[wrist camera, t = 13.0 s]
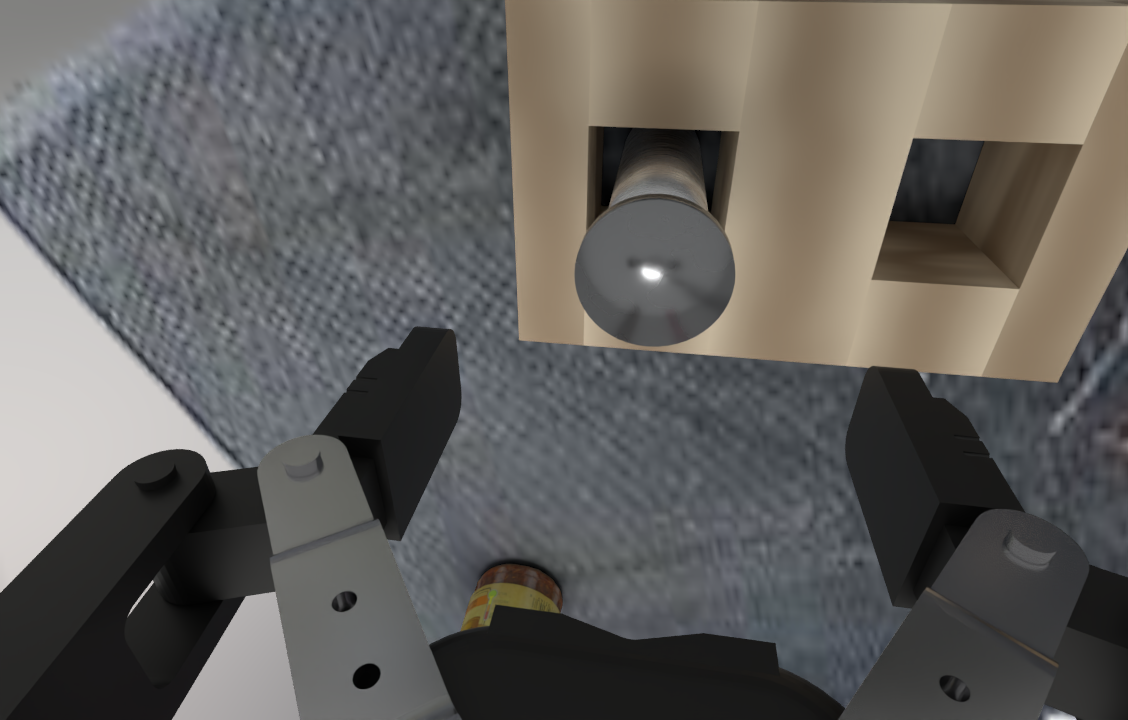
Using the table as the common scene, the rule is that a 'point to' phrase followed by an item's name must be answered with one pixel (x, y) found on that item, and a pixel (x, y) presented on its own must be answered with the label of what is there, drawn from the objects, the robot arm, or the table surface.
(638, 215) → the clevis pin
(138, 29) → the table surface
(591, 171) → the hole block
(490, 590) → the sauce bottle
